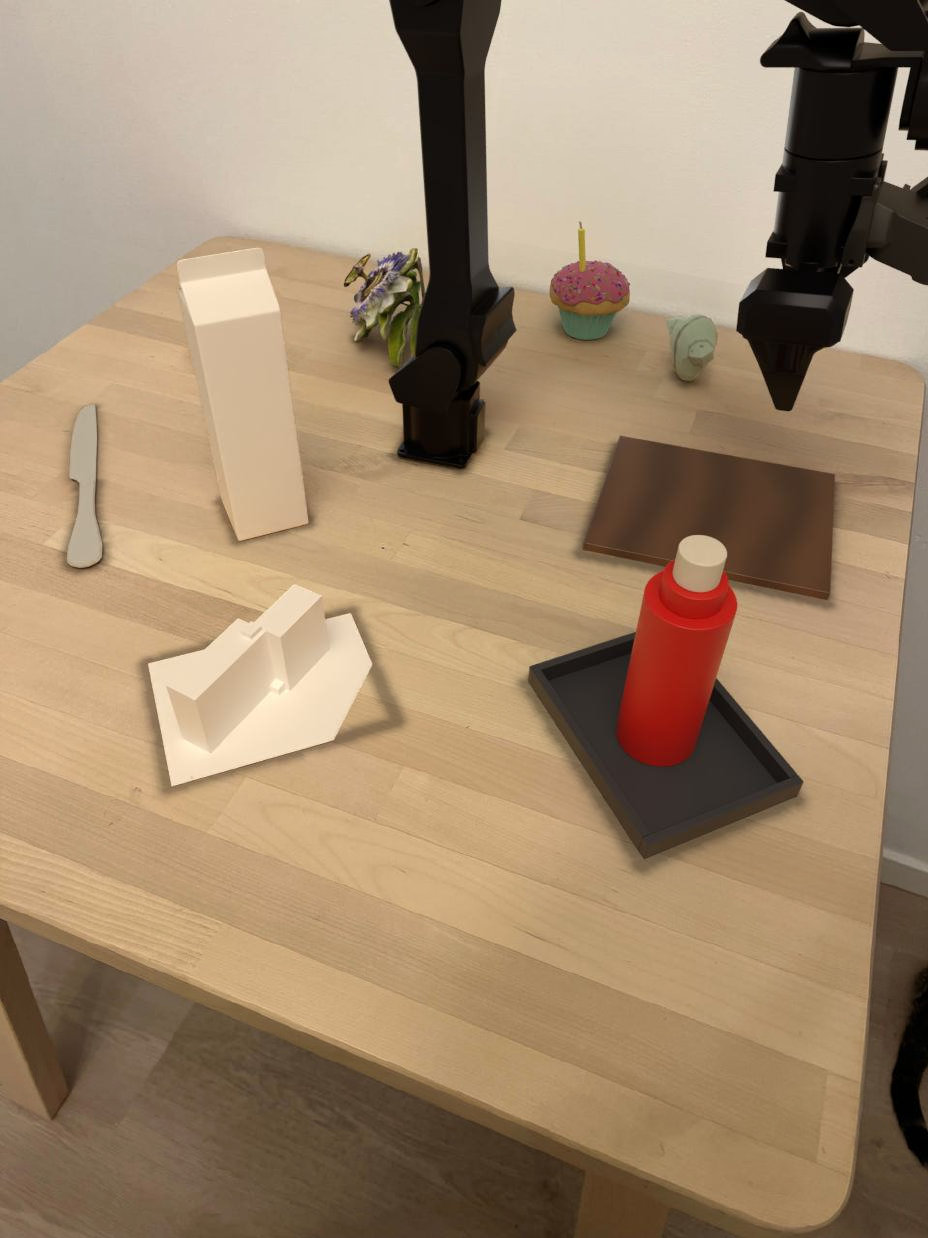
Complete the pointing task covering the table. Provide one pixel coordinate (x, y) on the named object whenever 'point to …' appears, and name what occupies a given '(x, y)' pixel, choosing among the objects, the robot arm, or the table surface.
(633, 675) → the ketchup
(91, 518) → the butter knife
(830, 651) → the table surface
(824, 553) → the serving board
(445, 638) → the table surface
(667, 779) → the baking tray
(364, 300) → the passion flower
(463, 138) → the robot arm
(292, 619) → the white building model
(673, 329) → the robot head
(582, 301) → the cupcake
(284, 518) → the milk
